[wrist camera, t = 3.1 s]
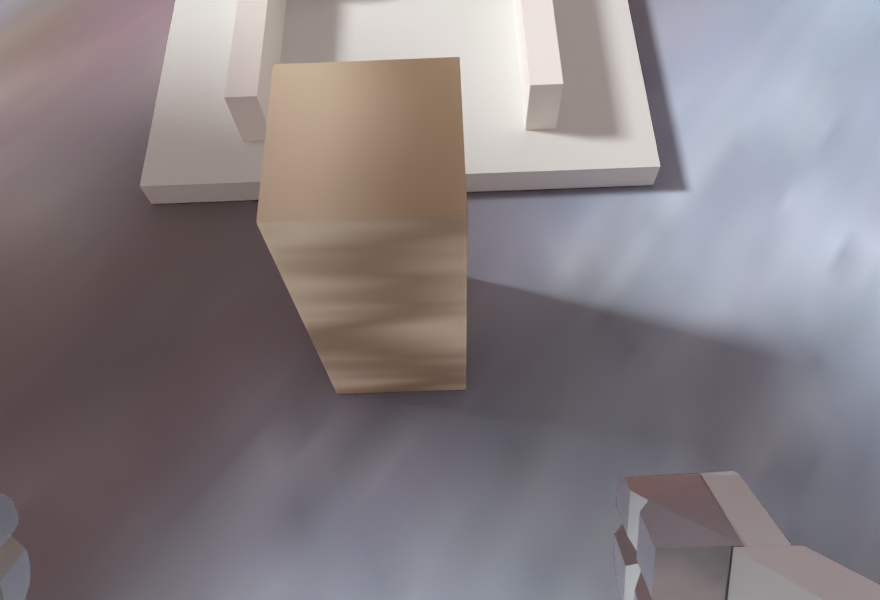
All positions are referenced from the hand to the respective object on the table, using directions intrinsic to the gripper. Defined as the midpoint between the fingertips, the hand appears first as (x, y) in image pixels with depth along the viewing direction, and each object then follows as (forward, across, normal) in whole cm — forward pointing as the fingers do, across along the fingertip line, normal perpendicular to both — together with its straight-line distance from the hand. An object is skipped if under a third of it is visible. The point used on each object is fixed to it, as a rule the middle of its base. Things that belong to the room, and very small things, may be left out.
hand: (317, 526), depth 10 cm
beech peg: (+16, 0, +3) cm, 17 cm away
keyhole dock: (+28, 0, -9) cm, 29 cm away
